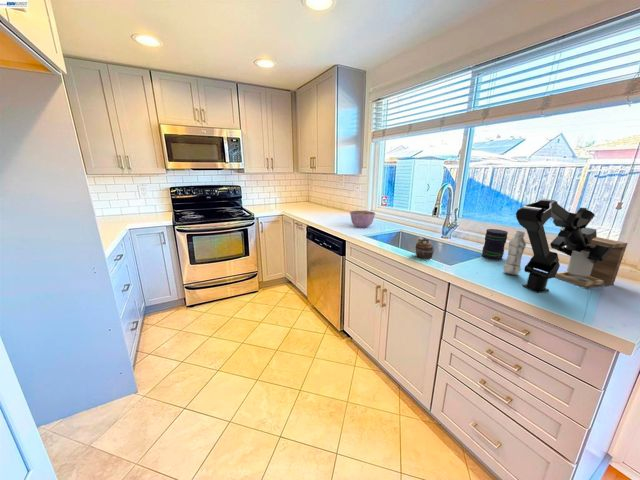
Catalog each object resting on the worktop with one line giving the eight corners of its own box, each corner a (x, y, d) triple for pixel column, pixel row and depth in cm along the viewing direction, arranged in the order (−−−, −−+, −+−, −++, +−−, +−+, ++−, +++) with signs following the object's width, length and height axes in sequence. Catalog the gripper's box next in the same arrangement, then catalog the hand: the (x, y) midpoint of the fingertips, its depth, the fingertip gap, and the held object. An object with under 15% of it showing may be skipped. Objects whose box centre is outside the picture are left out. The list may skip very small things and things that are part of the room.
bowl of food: (344, 226, 216) (344, 212, 213) (359, 223, 229) (360, 209, 226) (363, 230, 202) (364, 215, 199) (379, 227, 215) (380, 213, 212)
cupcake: (426, 261, 139) (429, 242, 136) (410, 256, 146) (412, 238, 143) (436, 257, 144) (439, 240, 141) (421, 253, 152) (423, 236, 149)
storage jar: (505, 258, 145) (511, 231, 141) (497, 261, 140) (503, 234, 136) (486, 253, 153) (491, 228, 149) (477, 256, 148) (482, 230, 144)
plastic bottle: (500, 273, 124) (510, 231, 118) (503, 269, 128) (512, 229, 123) (517, 277, 119) (528, 234, 114) (520, 273, 124) (529, 232, 119)
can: (562, 270, 121) (569, 245, 118) (580, 272, 120) (588, 246, 117) (574, 277, 114) (582, 250, 111) (594, 278, 113) (602, 251, 110)
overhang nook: (585, 288, 110) (599, 245, 105) (549, 275, 123) (559, 236, 118) (613, 284, 114) (627, 243, 109) (575, 272, 127) (586, 234, 122)
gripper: (616, 227, 101) (625, 253, 107) (561, 218, 118) (572, 240, 124) (596, 248, 101) (606, 272, 107) (544, 236, 118) (555, 257, 124)
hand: (584, 259), depth 115 cm, fingers closed on can, 7 cm apart
